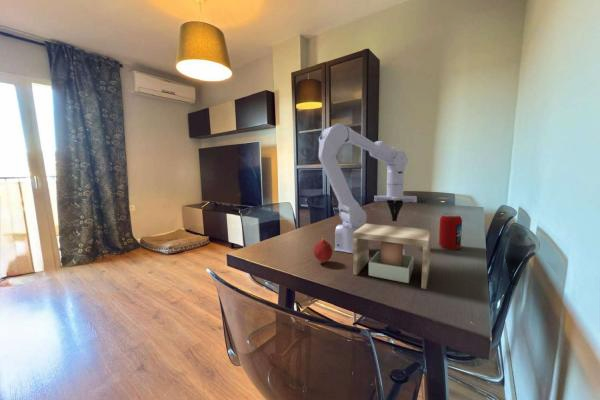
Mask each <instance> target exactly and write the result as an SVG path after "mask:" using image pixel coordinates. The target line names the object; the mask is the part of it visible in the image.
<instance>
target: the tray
mask: <svg viewBox="0 0 600 400" xmlns="http://www.w3.org/2000/svg"><path fill="white" fill-rule="evenodd" d="M405 252H406V249H404V248H403V265H402V267H399V266H393V265H387V264H381V250H377V251H376V252H375V253H374V255H373V256H372V257H371V259H369V261H368V276H371V277H374V278H375V277H376V278H380V279H385V280H389V281H394V282H395V281H396V282H400V283H406V284H409V283H410V280H411V277H412V273H413V270H414V261H415V260H414V258H415V257H414V256H413V255H408V254H406V253H405Z"/></svg>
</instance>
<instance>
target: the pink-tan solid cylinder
mask: <svg viewBox="0 0 600 400" xmlns="http://www.w3.org/2000/svg"><path fill="white" fill-rule="evenodd" d="M380 243H381V246H380V247H381V248H380V251H381V264H387V265H393V266H399V267H402V265H403V249H404V244H400V243H392V242H384V241H380Z"/></svg>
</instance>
